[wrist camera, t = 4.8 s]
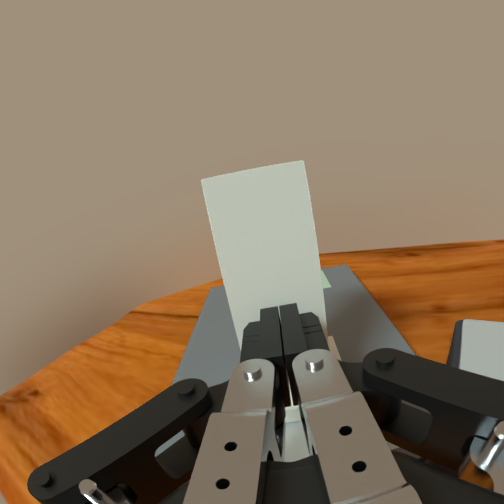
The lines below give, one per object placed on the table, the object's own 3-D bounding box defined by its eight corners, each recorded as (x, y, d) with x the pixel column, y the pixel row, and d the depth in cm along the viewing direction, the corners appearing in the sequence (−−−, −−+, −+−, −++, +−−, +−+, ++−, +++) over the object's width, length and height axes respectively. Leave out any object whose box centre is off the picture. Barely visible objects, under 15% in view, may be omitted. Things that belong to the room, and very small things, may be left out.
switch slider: (333, 347, 19) (309, 159, 16) (354, 410, 13) (335, 155, 10) (244, 362, 19) (201, 179, 16) (238, 428, 14) (168, 187, 10)
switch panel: (347, 276, 34) (346, 263, 34) (461, 453, 9) (469, 435, 9) (213, 299, 36) (210, 287, 35) (146, 499, 11) (133, 485, 10)
